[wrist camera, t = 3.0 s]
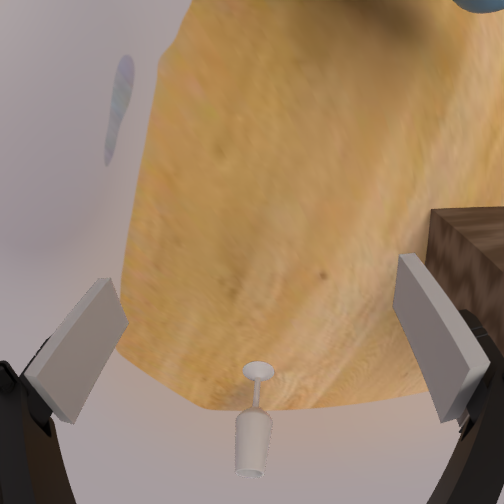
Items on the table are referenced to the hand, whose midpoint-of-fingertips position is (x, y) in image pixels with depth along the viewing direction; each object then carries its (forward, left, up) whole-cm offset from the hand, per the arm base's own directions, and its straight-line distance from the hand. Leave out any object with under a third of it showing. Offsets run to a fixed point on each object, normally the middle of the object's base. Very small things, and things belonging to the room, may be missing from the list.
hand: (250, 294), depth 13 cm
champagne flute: (+42, -6, -33) cm, 54 cm away
